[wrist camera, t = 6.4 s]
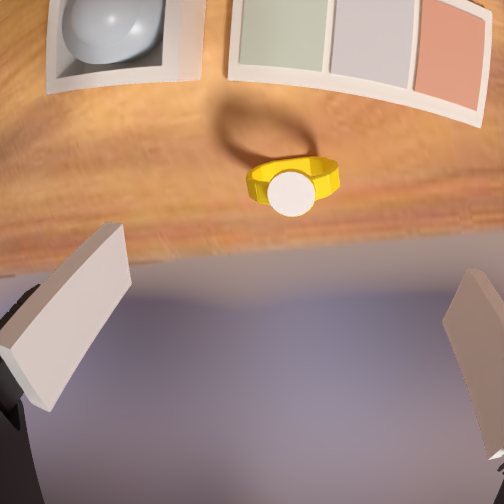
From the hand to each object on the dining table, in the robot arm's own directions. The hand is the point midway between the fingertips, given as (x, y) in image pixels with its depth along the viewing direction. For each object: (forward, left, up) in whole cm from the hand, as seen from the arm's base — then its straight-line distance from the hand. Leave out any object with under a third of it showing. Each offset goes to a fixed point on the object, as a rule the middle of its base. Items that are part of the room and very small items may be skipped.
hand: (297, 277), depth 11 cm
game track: (+4, +11, -14) cm, 18 cm away
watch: (0, 0, -14) cm, 14 cm away
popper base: (-12, +11, -14) cm, 21 cm away
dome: (-12, +11, -11) cm, 20 cm away
